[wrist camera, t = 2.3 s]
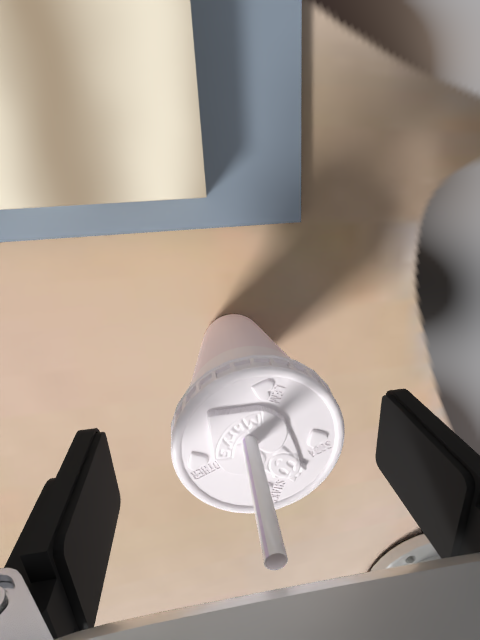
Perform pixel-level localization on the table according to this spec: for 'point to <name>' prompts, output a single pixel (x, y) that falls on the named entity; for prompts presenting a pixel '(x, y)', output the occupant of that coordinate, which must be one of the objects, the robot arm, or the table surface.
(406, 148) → the table surface
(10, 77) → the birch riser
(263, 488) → the smoothie
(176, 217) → the board
